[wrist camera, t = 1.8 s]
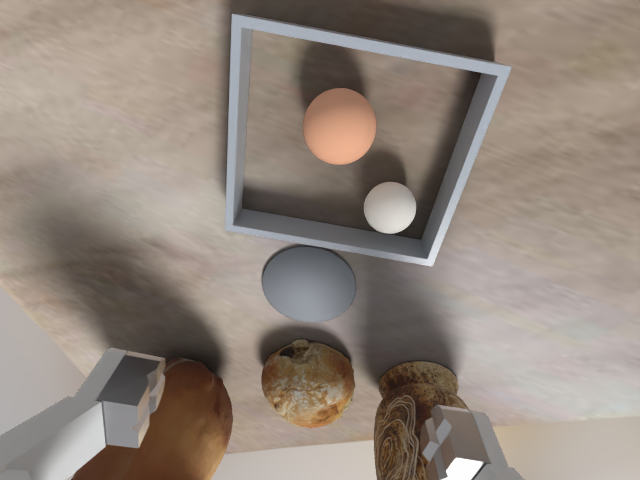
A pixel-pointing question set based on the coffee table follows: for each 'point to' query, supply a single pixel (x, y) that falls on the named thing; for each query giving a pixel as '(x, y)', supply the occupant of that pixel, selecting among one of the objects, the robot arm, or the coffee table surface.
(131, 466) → the butternut squash
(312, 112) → the terracotta ball
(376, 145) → the coffee table surface
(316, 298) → the pad
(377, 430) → the vase
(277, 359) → the bread roll
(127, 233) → the coffee table surface
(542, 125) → the coffee table surface
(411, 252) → the grey square frame
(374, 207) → the cream ball
